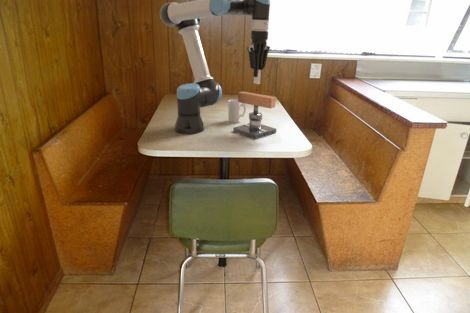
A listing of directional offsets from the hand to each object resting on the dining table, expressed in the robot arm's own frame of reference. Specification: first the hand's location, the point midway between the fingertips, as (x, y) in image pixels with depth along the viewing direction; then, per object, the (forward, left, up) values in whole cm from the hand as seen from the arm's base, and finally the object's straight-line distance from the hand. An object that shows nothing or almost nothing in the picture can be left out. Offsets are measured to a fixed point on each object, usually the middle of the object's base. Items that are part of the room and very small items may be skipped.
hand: (256, 83), depth 160 cm
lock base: (-6, +7, -27) cm, 29 cm away
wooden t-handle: (-6, +7, -20) cm, 22 cm away
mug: (-26, +13, -27) cm, 40 cm away
